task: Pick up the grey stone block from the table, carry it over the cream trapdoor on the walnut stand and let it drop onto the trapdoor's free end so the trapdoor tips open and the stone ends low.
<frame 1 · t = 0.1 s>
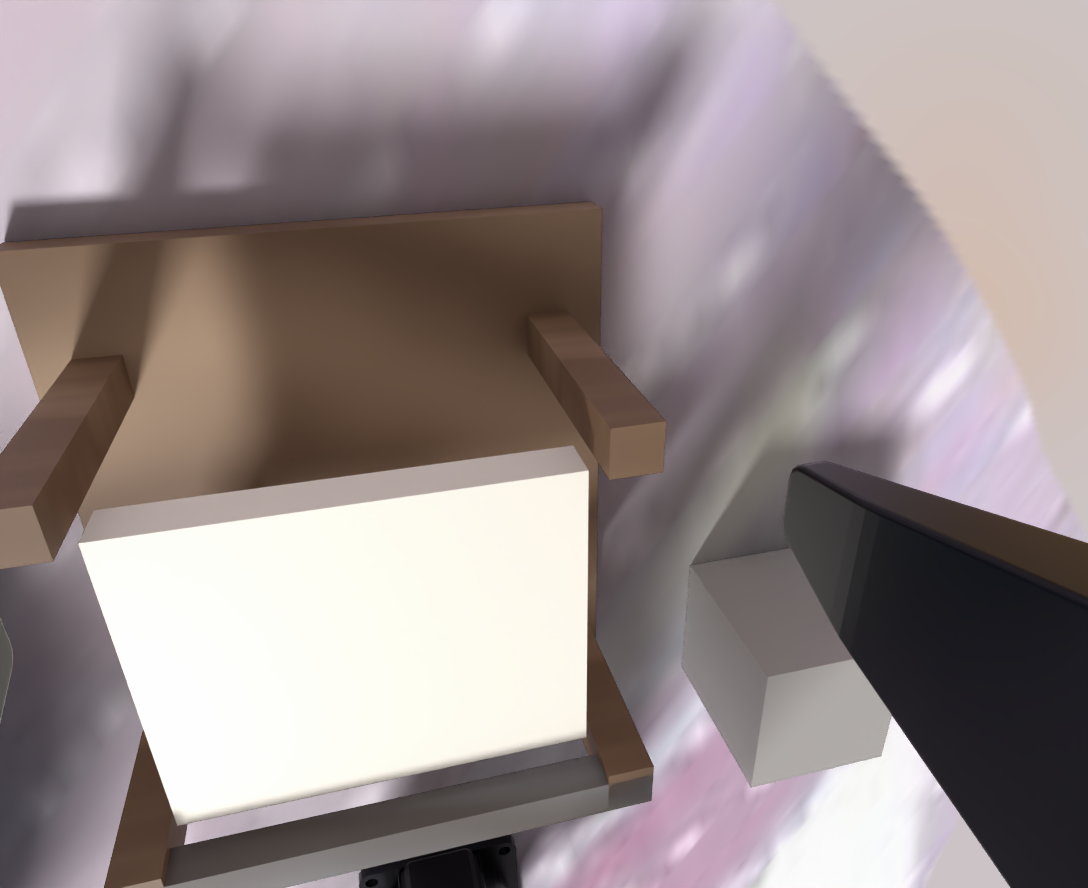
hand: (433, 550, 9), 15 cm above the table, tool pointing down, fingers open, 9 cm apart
trapdoor: (372, 638, 18), point 7 cm above the table, hinge at 0.0°
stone: (744, 606, 31), on the table
trapdoor stand: (357, 482, 25), on the table
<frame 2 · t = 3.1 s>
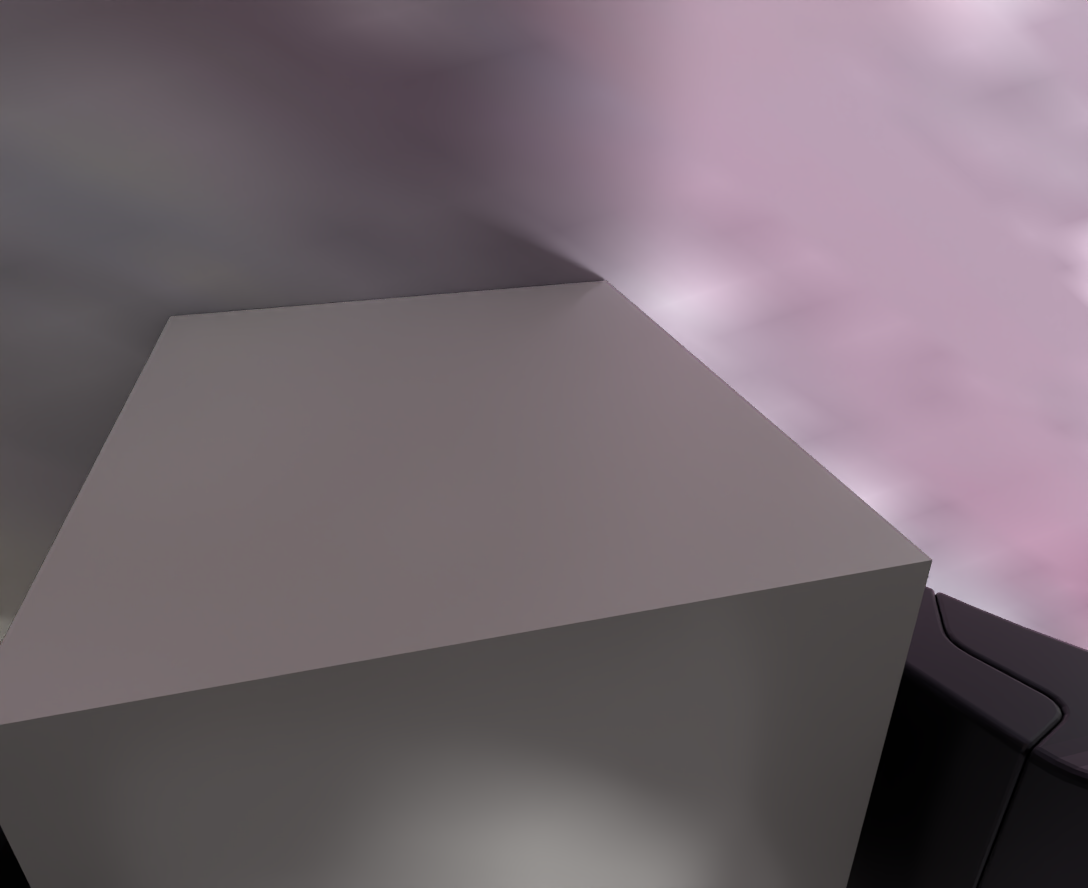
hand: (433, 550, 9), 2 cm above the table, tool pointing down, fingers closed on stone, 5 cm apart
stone: (418, 483, 10), on the table, touching gripper
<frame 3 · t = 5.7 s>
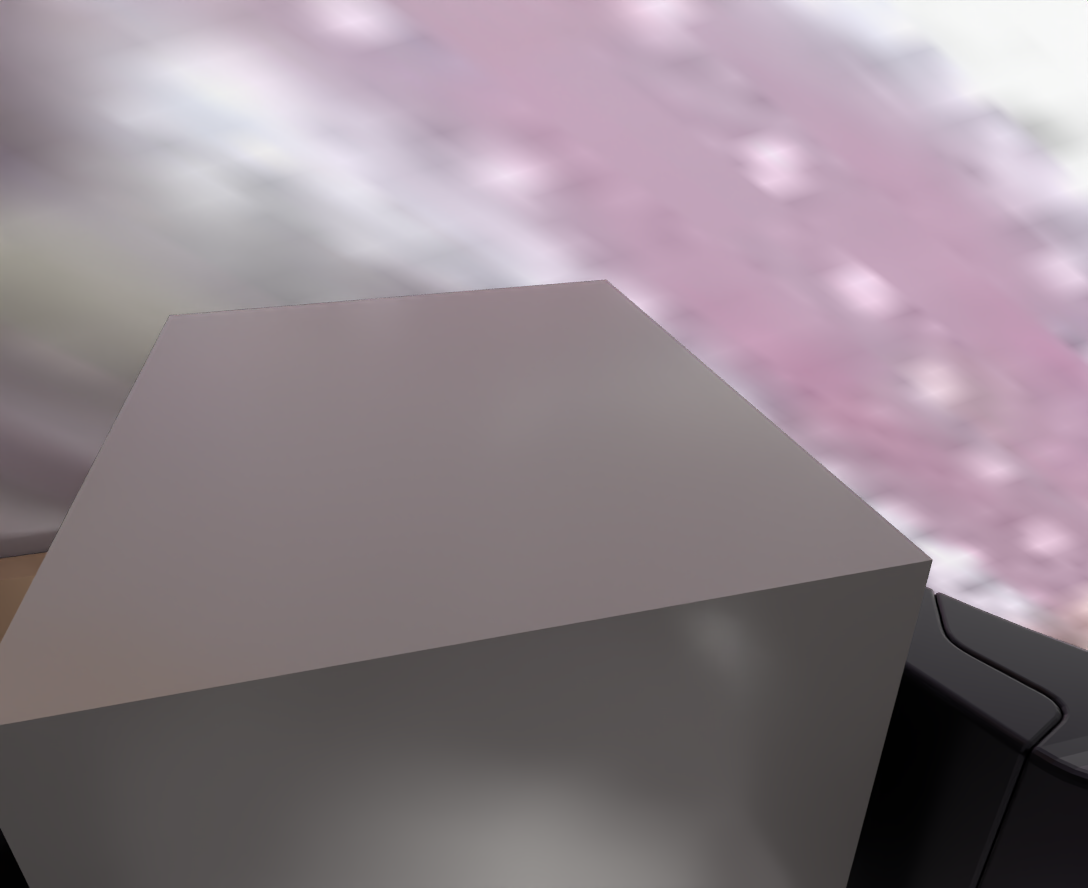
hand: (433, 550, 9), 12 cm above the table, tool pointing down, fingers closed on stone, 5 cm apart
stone: (418, 483, 10), point 10 cm above the table, touching gripper
trapdoor stand: (153, 752, 24), on the table
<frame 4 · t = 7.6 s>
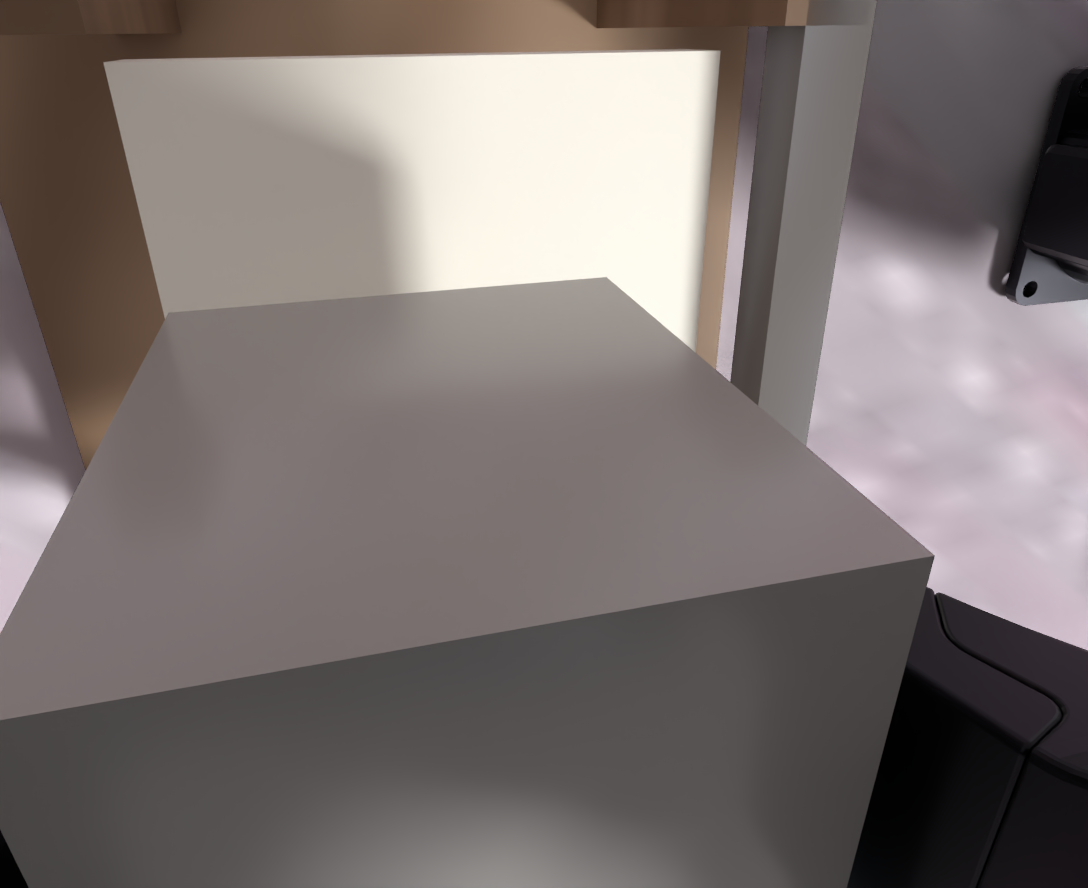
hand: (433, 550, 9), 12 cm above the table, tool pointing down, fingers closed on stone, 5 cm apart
trapdoor: (454, 390, 13), point 7 cm above the table, hinge at 0.0°
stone: (418, 481, 10), point 10 cm above the table, touching gripper
trapdoor stand: (408, 273, 20), on the table
when the fingers open (12 cm above the table, at t = 8.5 s): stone drops 4 cm, resting on trapdoor.
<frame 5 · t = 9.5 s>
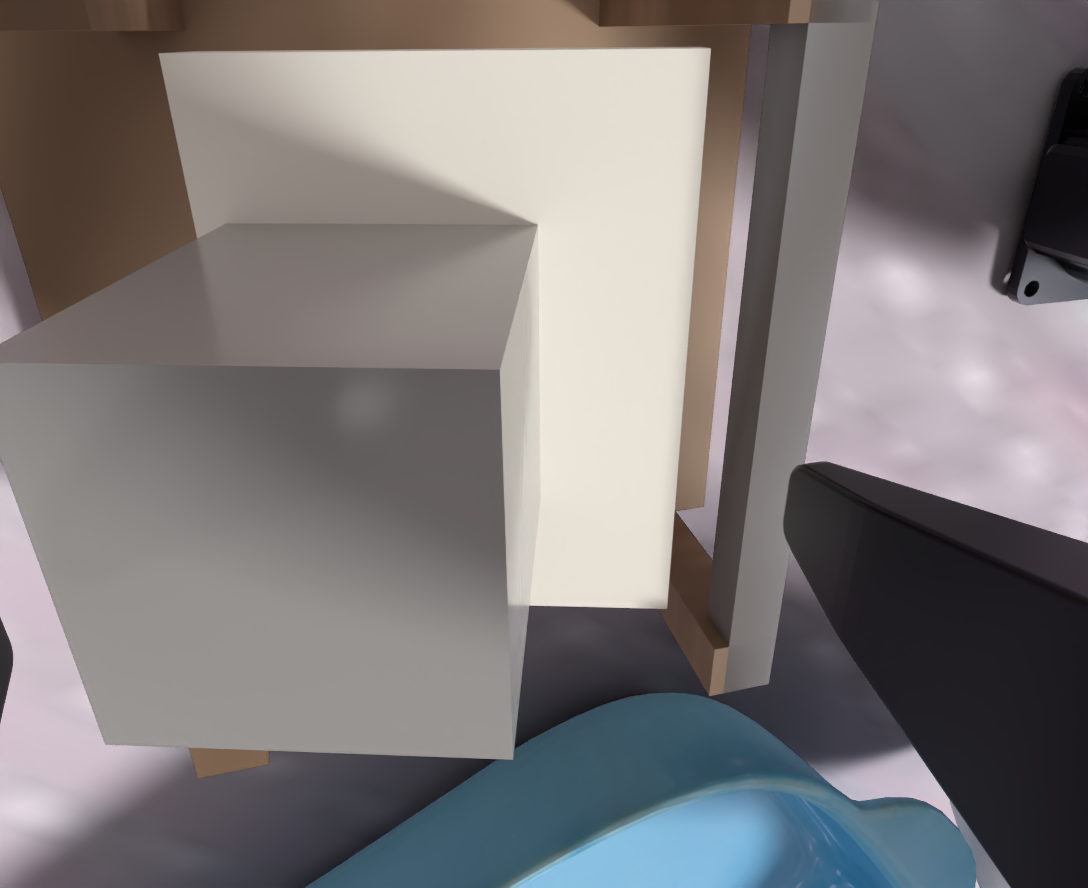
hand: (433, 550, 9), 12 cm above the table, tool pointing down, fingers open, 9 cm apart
trapdoor: (456, 361, 14), point 6 cm above the table, hinge at -17.2°, touching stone
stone: (395, 370, 14), point 6 cm above the table, tilted 17°, touching trapdoor
cup: (947, 719, 34), on the table
trapdoor stand: (411, 271, 20), on the table
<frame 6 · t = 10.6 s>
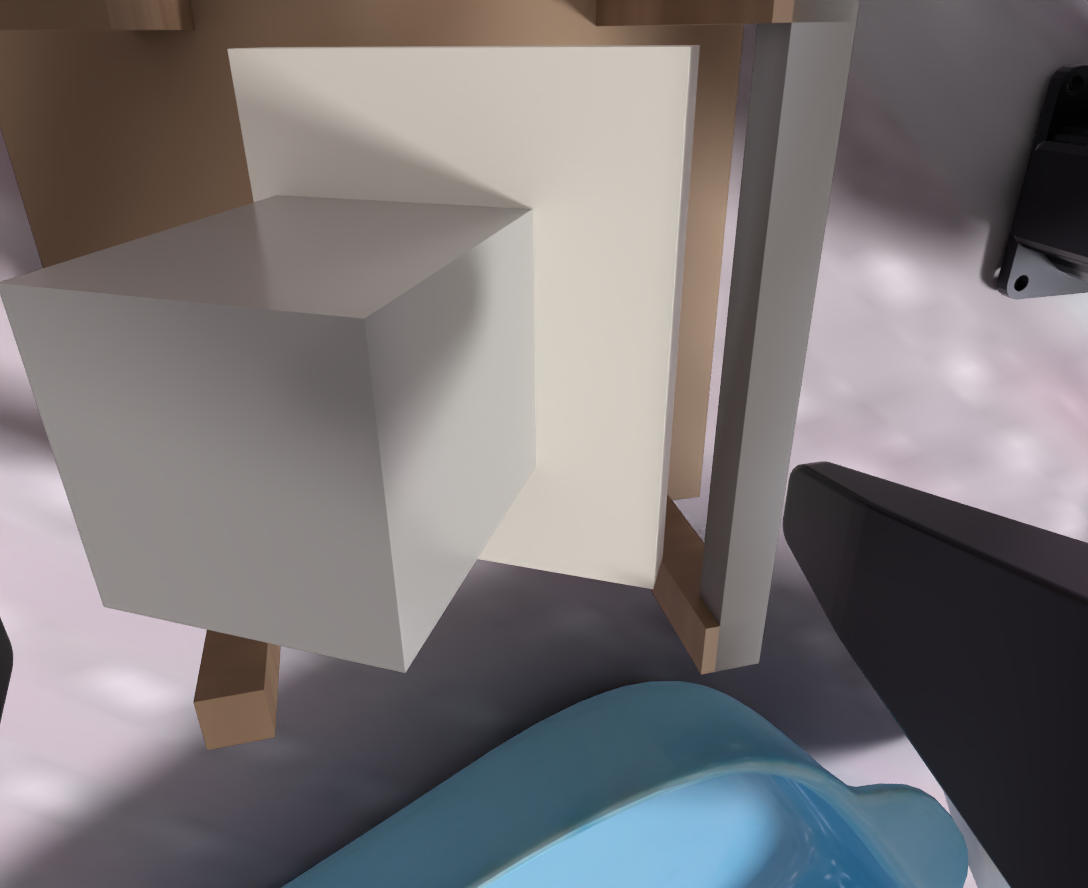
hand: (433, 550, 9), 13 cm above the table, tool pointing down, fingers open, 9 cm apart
trapdoor: (469, 331, 16), point 5 cm above the table, hinge at -30.7°, touching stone
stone: (410, 334, 15), point 5 cm above the table, tilted 31°, touching trapdoor
cup: (941, 709, 34), on the table
trapdoor stand: (413, 264, 20), on the table
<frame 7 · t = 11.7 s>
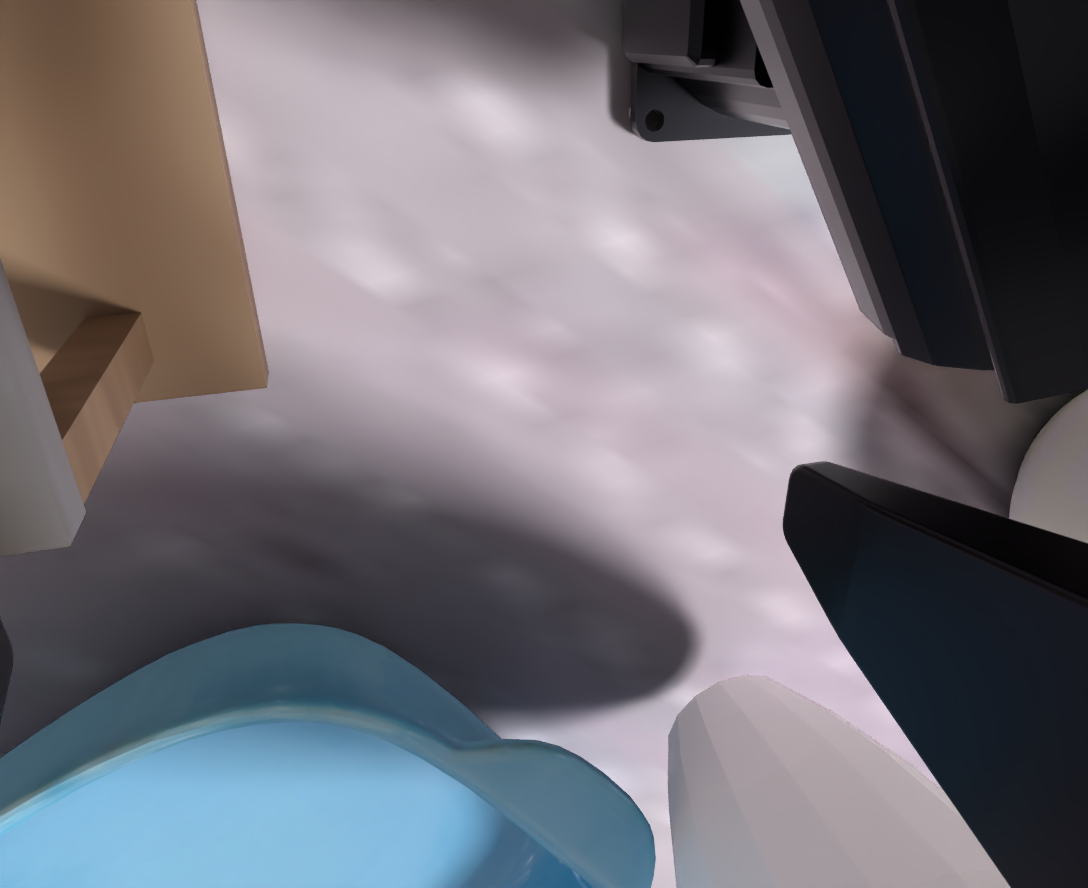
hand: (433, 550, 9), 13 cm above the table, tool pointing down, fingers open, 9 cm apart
cup: (692, 664, 30), on the table
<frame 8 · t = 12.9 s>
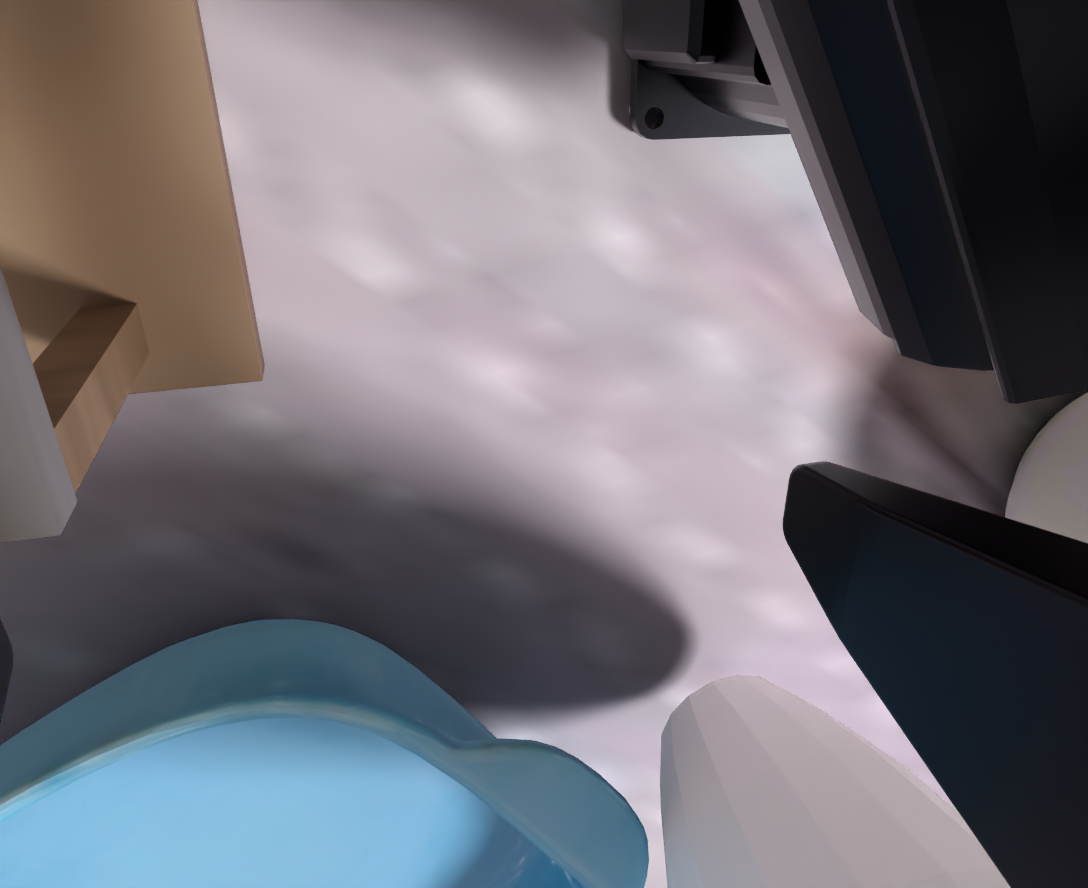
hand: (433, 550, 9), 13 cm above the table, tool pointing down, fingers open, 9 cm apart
cup: (686, 663, 30), on the table
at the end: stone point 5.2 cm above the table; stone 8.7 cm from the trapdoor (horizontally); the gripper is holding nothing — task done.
